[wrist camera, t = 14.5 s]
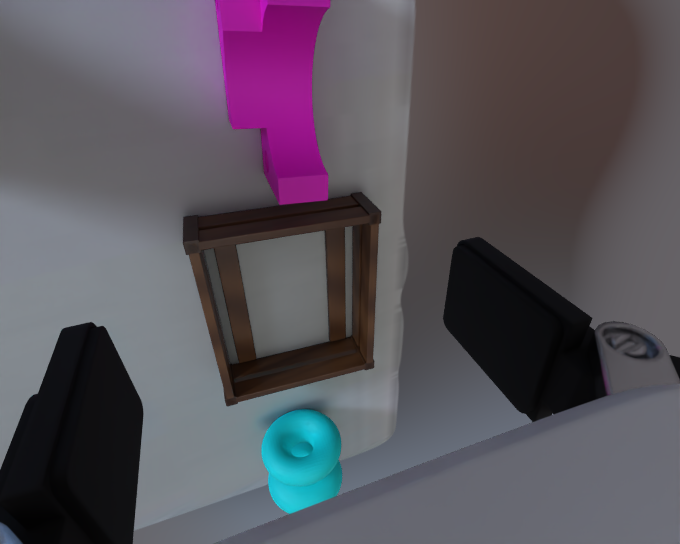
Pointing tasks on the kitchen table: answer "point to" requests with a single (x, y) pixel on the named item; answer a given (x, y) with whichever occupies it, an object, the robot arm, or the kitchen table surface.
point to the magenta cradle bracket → (275, 88)
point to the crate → (340, 352)
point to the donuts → (302, 459)
